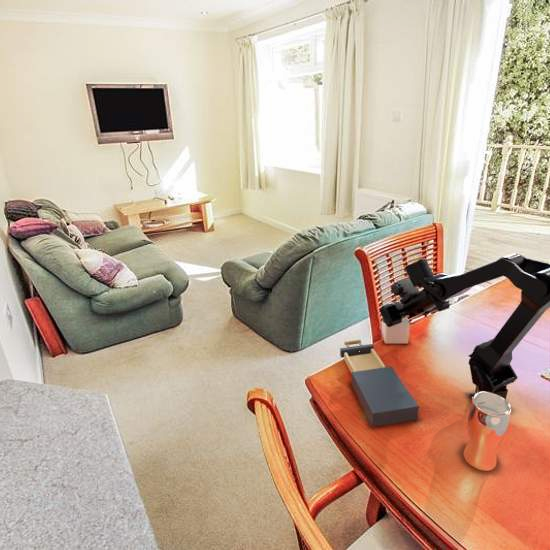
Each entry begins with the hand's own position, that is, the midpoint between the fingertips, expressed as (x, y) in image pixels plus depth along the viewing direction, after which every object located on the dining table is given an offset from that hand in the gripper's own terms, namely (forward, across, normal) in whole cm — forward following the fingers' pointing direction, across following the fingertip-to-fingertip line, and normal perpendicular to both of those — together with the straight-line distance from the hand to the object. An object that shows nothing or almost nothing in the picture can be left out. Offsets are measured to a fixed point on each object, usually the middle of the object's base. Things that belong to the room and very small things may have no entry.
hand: (394, 316), depth 118 cm
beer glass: (-26, +16, +36) cm, 47 cm away
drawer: (0, +18, +10) cm, 20 cm away
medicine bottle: (+5, 0, +6) cm, 8 cm away
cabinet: (-10, +22, +20) cm, 31 cm away
